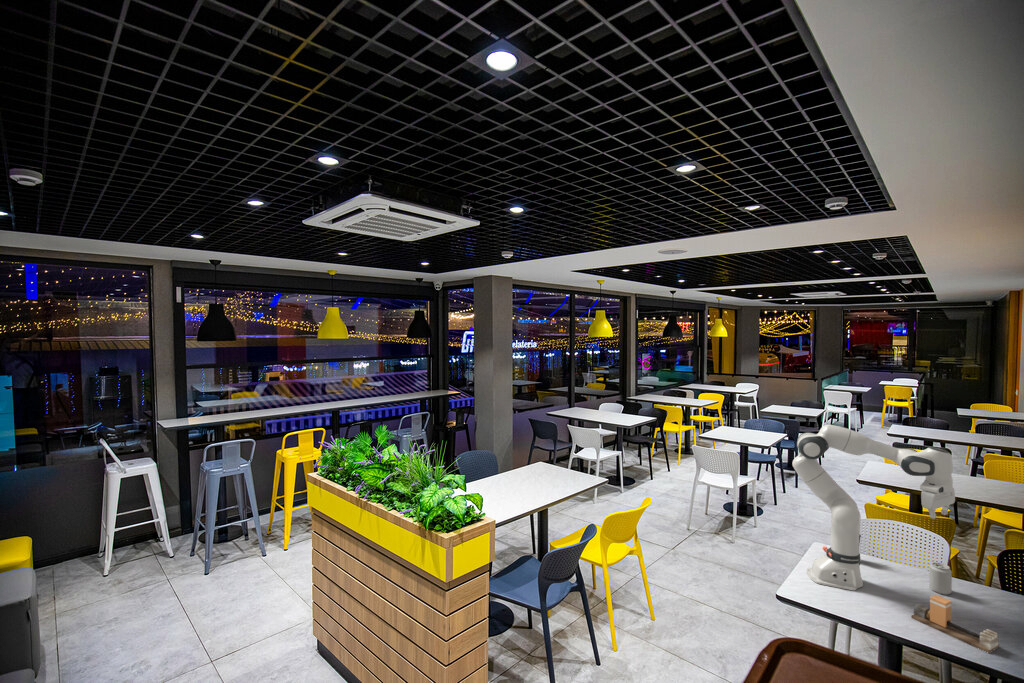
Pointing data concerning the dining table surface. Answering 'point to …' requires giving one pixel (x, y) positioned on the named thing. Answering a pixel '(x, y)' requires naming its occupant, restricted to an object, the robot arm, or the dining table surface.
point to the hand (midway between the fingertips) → (938, 516)
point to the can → (940, 578)
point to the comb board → (958, 631)
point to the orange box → (940, 610)
